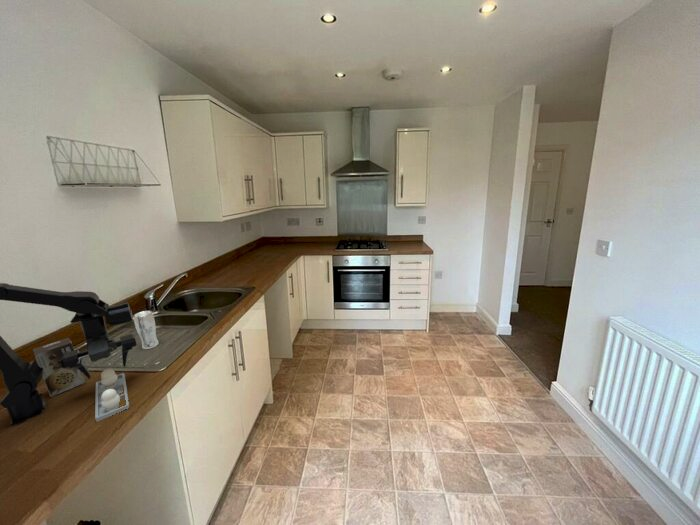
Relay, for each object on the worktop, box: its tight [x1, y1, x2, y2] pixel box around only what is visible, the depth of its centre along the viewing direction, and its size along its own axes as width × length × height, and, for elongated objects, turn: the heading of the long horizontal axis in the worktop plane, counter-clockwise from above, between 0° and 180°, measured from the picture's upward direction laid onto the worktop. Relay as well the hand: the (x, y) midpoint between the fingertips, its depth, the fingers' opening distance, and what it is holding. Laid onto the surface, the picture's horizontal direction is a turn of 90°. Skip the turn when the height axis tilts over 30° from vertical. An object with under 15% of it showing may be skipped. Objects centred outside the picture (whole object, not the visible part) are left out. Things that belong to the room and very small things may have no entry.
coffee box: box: [32, 337, 86, 398], centre depth 99 cm, size 9×6×16 cm
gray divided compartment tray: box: [94, 372, 130, 423], centre depth 94 cm, size 8×22×2 cm, turn 40°
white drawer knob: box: [101, 389, 120, 412], centre depth 88 cm, size 4×4×6 cm
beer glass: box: [132, 310, 160, 350], centre depth 124 cm, size 7×7×15 cm
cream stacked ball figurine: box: [100, 368, 118, 389], centre depth 99 cm, size 4×4×6 cm
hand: (107, 372), depth 98 cm, fingers open, 9 cm apart
